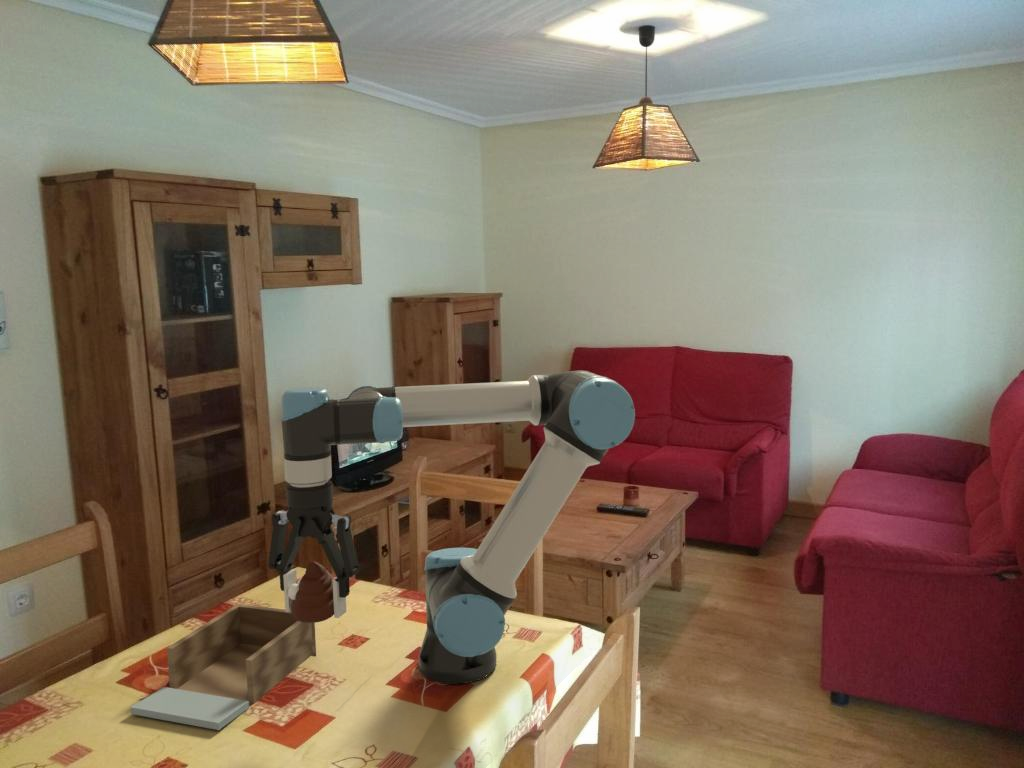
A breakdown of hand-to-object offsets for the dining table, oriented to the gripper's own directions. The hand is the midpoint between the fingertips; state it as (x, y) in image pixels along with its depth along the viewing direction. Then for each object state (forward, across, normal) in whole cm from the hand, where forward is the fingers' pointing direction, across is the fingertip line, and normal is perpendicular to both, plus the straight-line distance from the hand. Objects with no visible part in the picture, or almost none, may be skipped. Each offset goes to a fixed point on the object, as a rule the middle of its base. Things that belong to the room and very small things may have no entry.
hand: (315, 611), depth 133 cm
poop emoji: (0, 0, 0) cm, 1 cm away
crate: (+19, +22, -10) cm, 31 cm away
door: (+18, +22, +2) cm, 29 cm away
